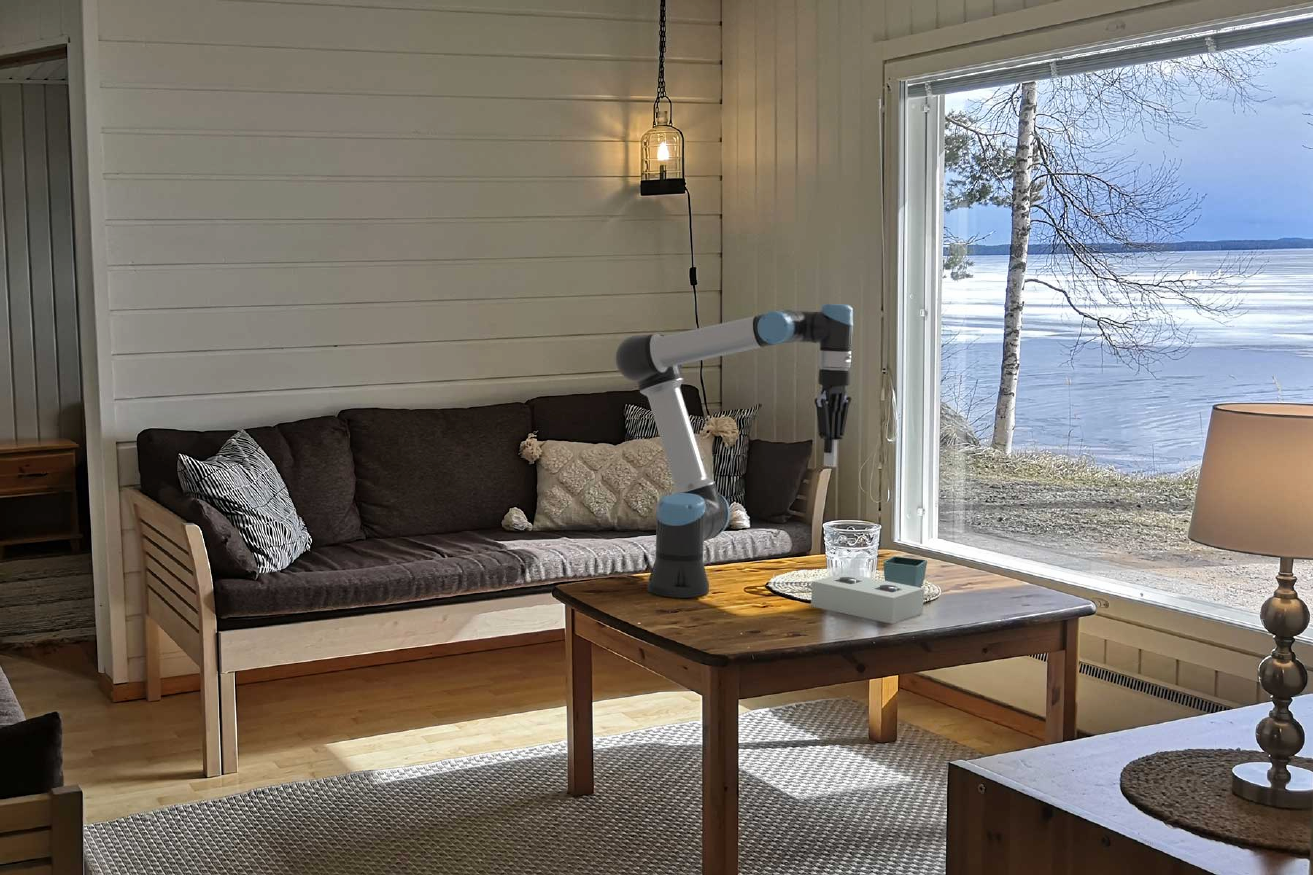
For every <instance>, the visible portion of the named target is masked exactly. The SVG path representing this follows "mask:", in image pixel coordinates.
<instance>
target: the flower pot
mask: <svg viewBox="0 0 1313 875" xmlns="http://www.w3.org/2000/svg"><path fill="white" fill-rule="evenodd" d="M927 564H928V559H922V558H911V557H904V556H903V557H902V556H892V557H890V558H888V559H886V560H885V561H883V565H882V566H883V576H884V581H889V582H894V583H899V584H904V585H909V586H914V587H919V588H923V587H922V586H923V584H924V580H925V578H926V573H927V572H926V570H927Z"/></svg>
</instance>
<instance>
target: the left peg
mask: <svg viewBox="0 0 1313 875" xmlns="http://www.w3.org/2000/svg"><path fill="white" fill-rule="evenodd" d="M839 582H842V583H847V584H854V583H856V579H855V578H852V577H841V578H840V579H839Z"/></svg>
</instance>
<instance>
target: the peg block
mask: <svg viewBox="0 0 1313 875" xmlns="http://www.w3.org/2000/svg"><path fill="white" fill-rule="evenodd" d="M841 577H852V578H855V579H856V583H854V584H847V583H842V582H839V579H840V578H841ZM881 585H893V586H896V587H897V591H896V592H887V591H882V590H880V586H881ZM924 598H925V588H924V587H921V588H919V587H914V586H909V585H904V584H899V583H894V582H889V581H885V580H883V579H877V578H873V577H868V576H863V575H858V574H857V575H856V574H851V573H847V572H842V573H838V574H834V575H829V576H827V577H824V578H820V579H819V578H818V579H816V580H813V581H812V582H811V599H810V600H811V601H810V607H814V608H817V609H818V608H819V609H822V610H826V611H827V610H828V611H831V612H835V613H836V612H837V613H842V614H845V615H850V616H853V617H859V618H864V619H869V620H874V621H878V622H881V623H886V624H892V625H893V624H895V623H896V624H897V623H900V622H902V621H905V620H907V619H911V618H913V617H916V616H918V615H922V614H923V613H924V601H925V600H924Z"/></svg>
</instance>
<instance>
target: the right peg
mask: <svg viewBox="0 0 1313 875" xmlns="http://www.w3.org/2000/svg"><path fill="white" fill-rule="evenodd" d="M880 590H882V591H887V592H896V591H897V587H896V586H893V585H881V586H880Z"/></svg>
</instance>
